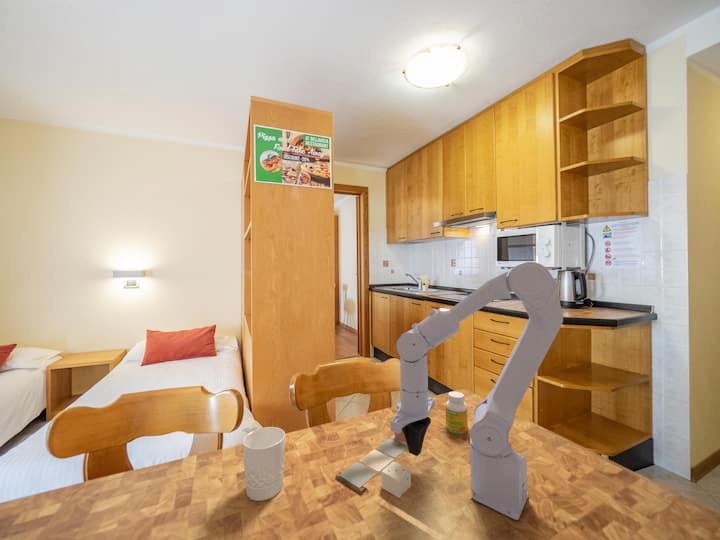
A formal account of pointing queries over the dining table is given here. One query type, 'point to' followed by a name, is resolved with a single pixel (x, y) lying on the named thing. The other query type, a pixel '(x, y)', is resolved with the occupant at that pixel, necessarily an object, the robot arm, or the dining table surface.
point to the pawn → (400, 436)
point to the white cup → (264, 462)
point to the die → (396, 479)
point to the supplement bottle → (456, 413)
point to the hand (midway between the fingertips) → (414, 452)
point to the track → (371, 464)
